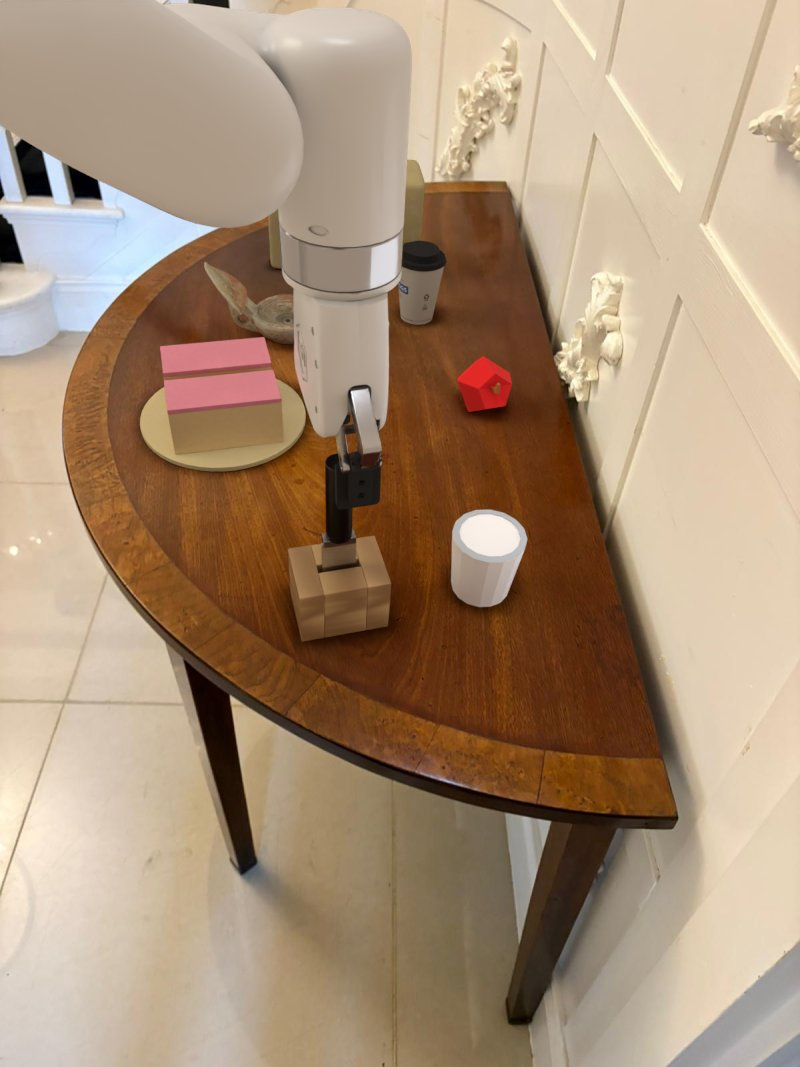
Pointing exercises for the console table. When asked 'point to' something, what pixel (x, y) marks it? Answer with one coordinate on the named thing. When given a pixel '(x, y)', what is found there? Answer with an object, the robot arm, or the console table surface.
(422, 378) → the console table surface
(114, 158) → the robot arm
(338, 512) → the knife
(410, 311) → the coffee cup
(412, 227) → the cheese
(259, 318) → the oil lamp
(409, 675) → the console table surface
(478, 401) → the apple
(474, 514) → the white cylinder
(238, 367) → the cake
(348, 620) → the knife block
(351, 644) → the console table surface
